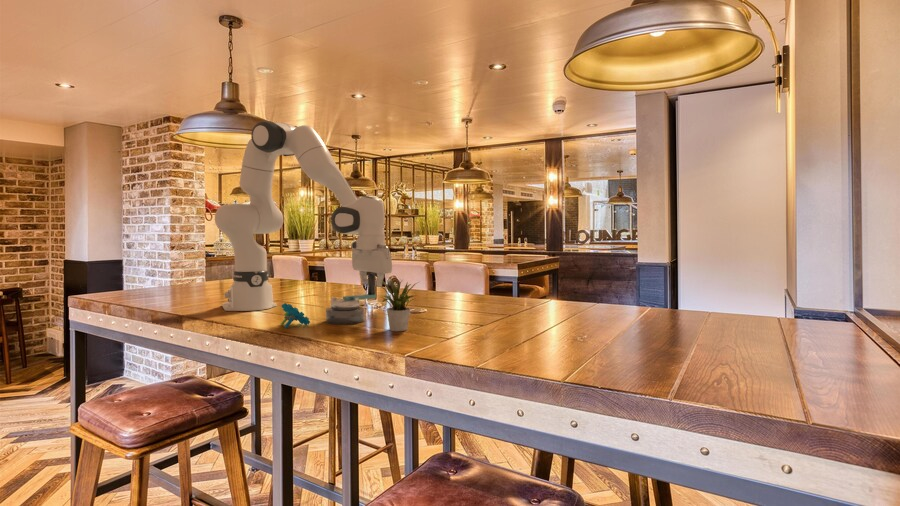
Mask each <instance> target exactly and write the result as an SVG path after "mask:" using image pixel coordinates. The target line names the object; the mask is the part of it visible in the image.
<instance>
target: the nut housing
mask: <svg viewBox="0 0 900 506" xmlns="http://www.w3.org/2000/svg"><path fill="white" fill-rule="evenodd" d="M325 319H326V321H325V322H326V323H327V324H329V325H335V326H337V325H339V326H340V325H341V326H347V325H356V324H361V323H363V322H365V308H364V307H363V305H359V308H358V309H354V310H333V309H331V307H328V308H326V309H325Z"/></svg>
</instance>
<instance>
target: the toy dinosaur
mask: <svg viewBox="0 0 900 506" xmlns="http://www.w3.org/2000/svg"><path fill="white" fill-rule="evenodd" d="M280 306H281V308H282V310H283V312H285V313H284V319H283V321H282V322H281V323H280V326H282V325H284V328H286V329H287V328H289V326H290V325H291V323H292V322H293V321H296V322H299V324H301V325H303V324H304V325H305V326H307V325H309V324H310V323H311V321H310V319H309V317H308V316H305V313H304V312H303V311H299V309H298V308H297V307H296V306H294V307H293V305H292V304H287V303H286V302H284V303H283V304H281V305H280ZM286 321H287V322H286Z"/></svg>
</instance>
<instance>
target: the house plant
mask: <svg viewBox="0 0 900 506" xmlns="http://www.w3.org/2000/svg"><path fill="white" fill-rule="evenodd" d="M381 281H382V280H381ZM402 282H403V280H400V281H399V283H398V286H397V287H396V285H395V283H394V280H393V279H392V278H390V284H391V288H392V290H391V288H390V287H389V286H388V284H387V283H386V282H385V281H384V280H383V281H382V286H380V287H379V288H382V289H383V290H384V291H385V292H386V294H387V295H384V296H381V298H382V301H381V303H384V302H387V304H388V305H390V307H388V308H386V313H387V320H388V327H389V330H390V331H392V332H403V331H404V332H405V331H407V330H408V326H409V320H410V314H411V308H410V307H407V306H408V304H410V302H412V301H414V300H415V298H413V297H417V296H418V295H416V294H415V295H409V292H410V291H411V290H412V289H413V288H414V287H415V286H416V285H417V284H418V283H420V281H418V282H416V283H414V284H413V285H412V283H408V281H407V282H406V284H405V285H404V289H403V290H402V292H401V293H400V287H401V283H402ZM379 283H381V282H379ZM383 286H385V287H383ZM410 286H411V287H410ZM386 289H387V290H388V291H387V290H386ZM388 292H389V293H388ZM391 296H392V297H391ZM411 298H412V299H411ZM409 299H410V300H409Z"/></svg>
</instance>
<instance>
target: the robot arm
mask: <svg viewBox="0 0 900 506" xmlns="http://www.w3.org/2000/svg"><path fill="white" fill-rule="evenodd" d="M250 134H251V138H250V139H249V141H247V144H246V147H245V150H244V152H243V158H242V163H241V169H240V176H239V187H240V189H241V190H242V192H244V193H245V194H247V195H248V196H249V204H247V203H246V204H245V203H229V204H225V205H220V206H219V207H218V208H217V210H216V212H215V214H214V222H215V223H214V224H215V225H216V227H217V229H219V231H221V232H222V233H223V234H224V235H225V236H226V237H227V239H228V241H229V242H230V243H231V246H232V248H233V252H234V254H233V255H234V271H233V274H232V276H233V277H232V279H233V282H232V284H231V285H230V288H229V289H228V290H227V291H225V292H224V298H225V299H227V302H222V304H221V306H222V308H223V309H224V311H229V312H230V311H231V312H232V311H233V312H234V311H237V312H239V311H240V312H244V311H245V312H247V311H249V312H250V311H261V310H268V309H271V308H273V307H277V306H278V305H277V304H278V303H276V302H274V295H273V285H272V284H271V283H270V282H269V281H268V280H269V270H268V258H267V256H268V254H267V253H268V252H267V250H266V248H265V247H264V246H263V245H261V244H259V243H258V242H257V241H256V239H255V235H262V234H264V235H267V234H271V233H272V234H273V233H276V232H279V231H280V230H281V228H282V226H283V224H284V215H283V213H282V211H281V210H280V208H278V206H277V205H276V204H275V201H274V198H273V197H274V196H273V181H274V173H275V168H276V167H275V165H276V161H277V159H278V157H280V156H281V155H282V156H283V157H291V156H292V157H293V156H294V157H295V158H296V160H297V162H298V165H299V166H300V168H301V170H302V171H303V172H304V174H306V176H307V177H308V178H309V179H310V180H312V181H314V182H316V183H318V184H320V185H322V186H324V187H325V188H327V189H328V190H329V191H330V192H332V193H333V194H334V196H335V198H336V199H337V200H338V202H339V204H340V206H338V207H336V209H335V210H333V212H332V214H331V217H330V219H331V220H330V223H331V226H332V228H333V230H335V232H337V233H339V234H342V235H350V236H351V235H356V236H358V237H357V238H358V239H356V240H354V241H352V243H351V245H350V246H351V249H352V252H351V264H352V268H353V271H358V272H359V276H360V279H361V284H362V285H368V273H374V274H376V276H377V278H376V280H375V287H377V288H381V287H383V284H382V283H383V281H384V278H385V275H387V274H391V273H392V271H393V260H392V253H391V251H390V248H389V247H388V246H387V245H385V244H386V237H385V236H386V234H385V229H384V227H385V224H386V217H385V216H386V214H385V205H384V202H383V200H382V199H381V198H379V197H375V196H369V195H361V196H360V197H359V198H358V196H357V195H356V193H355V191H354V190H353V188H352V186H351V185H350V183H349V181H347V179H346V177H344V175H343V173H342V171H341V169H340V168H339V166H338V165H337V163H336V162H335V160H334V158H333V156H332V154H331V152H330V151H329V149H328V147H327V145H326V144H325V142H324V140H323V139H322V138H321V136H320V135H319V134H318V132H317V131H316V130H315V129H314V128H313V127H312V126H310V125H305V124H304V125H299V126H297V125H292V124H289V123H285V122H277V121H276V122H275V121H271V120H262V121H259V122H257V123H256V124H255V125H254V126H253V128H252V131H251V133H250ZM381 280H382V281H381ZM379 282H381V283H379ZM380 286H381V287H380Z"/></svg>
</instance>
